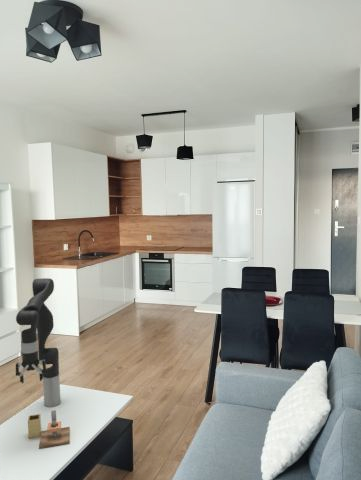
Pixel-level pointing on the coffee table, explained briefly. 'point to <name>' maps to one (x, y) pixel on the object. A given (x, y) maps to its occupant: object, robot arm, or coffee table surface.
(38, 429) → the sleeve
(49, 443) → the post stand
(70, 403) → the coffee table surface
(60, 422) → the orange square ring
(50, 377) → the robot arm
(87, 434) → the coffee table surface
